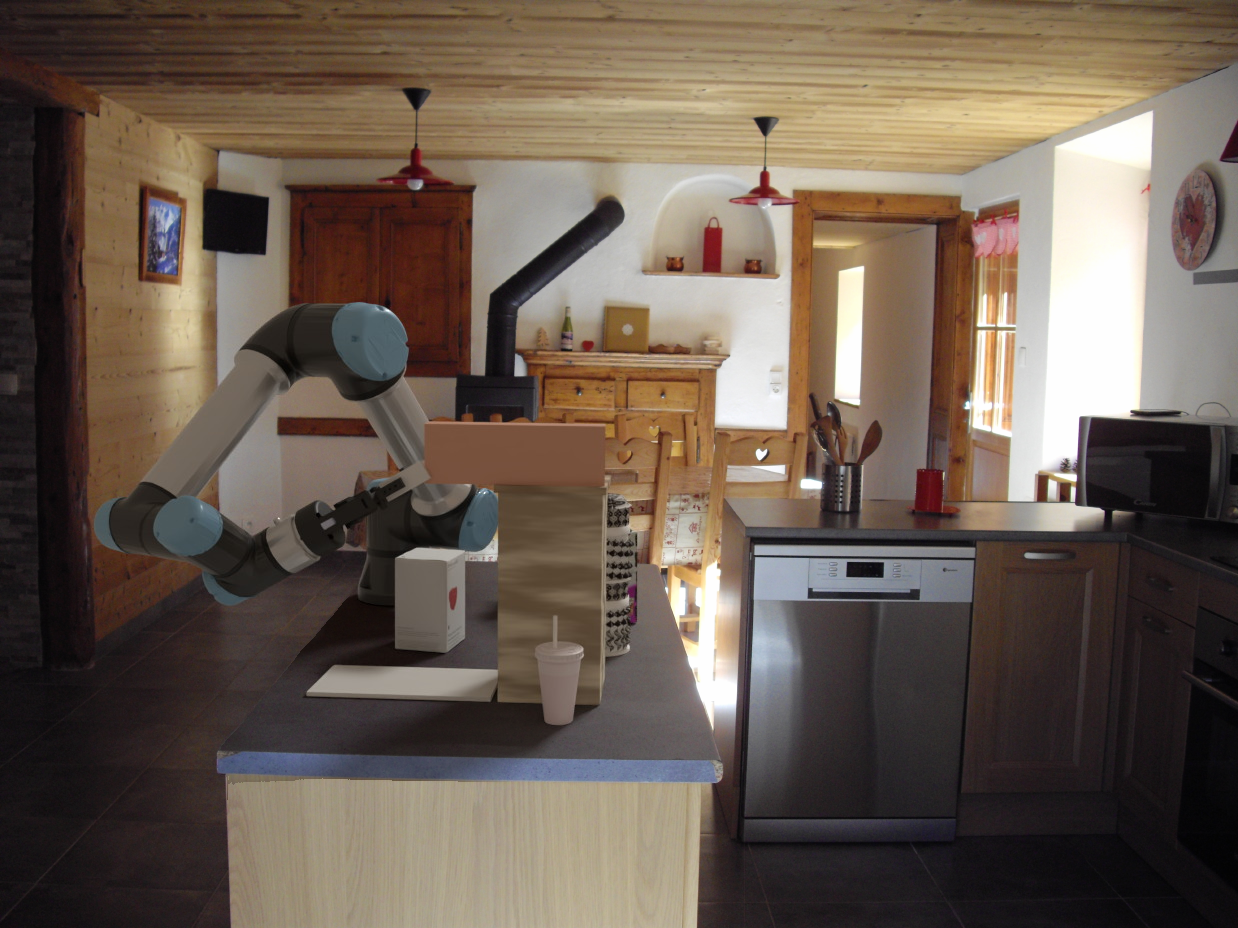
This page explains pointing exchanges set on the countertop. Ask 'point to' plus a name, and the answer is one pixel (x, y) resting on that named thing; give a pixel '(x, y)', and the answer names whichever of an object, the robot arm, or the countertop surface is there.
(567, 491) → the stand
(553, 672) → the smoothie
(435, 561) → the supplement box
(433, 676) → the mat
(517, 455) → the block
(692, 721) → the countertop surface
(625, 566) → the decorative candle
